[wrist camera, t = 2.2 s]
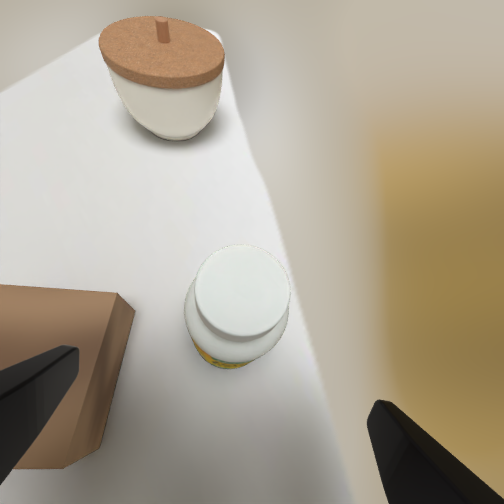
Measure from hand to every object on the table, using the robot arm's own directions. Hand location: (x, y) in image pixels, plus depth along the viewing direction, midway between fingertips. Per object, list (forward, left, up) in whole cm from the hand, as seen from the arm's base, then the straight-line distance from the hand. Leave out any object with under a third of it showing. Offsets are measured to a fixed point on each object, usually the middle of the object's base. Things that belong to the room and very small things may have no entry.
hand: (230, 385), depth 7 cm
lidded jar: (+27, +8, -11) cm, 30 cm away
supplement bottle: (+4, 0, -11) cm, 11 cm away
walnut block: (+1, +11, -11) cm, 15 cm away
